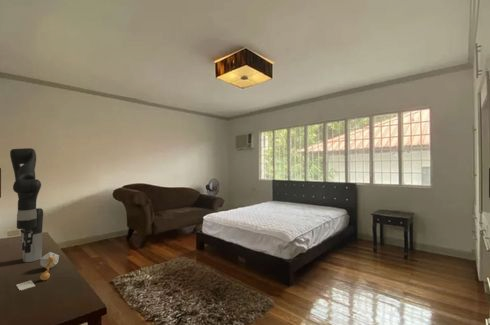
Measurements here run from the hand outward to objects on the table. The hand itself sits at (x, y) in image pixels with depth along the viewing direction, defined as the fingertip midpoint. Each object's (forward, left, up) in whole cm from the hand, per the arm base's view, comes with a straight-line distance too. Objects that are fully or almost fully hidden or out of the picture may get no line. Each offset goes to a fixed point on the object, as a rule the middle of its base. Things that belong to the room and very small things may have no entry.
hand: (26, 251), depth 121 cm
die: (-16, +13, -18) cm, 27 cm away
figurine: (0, +9, -18) cm, 20 cm away
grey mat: (0, 0, -17) cm, 17 cm away
